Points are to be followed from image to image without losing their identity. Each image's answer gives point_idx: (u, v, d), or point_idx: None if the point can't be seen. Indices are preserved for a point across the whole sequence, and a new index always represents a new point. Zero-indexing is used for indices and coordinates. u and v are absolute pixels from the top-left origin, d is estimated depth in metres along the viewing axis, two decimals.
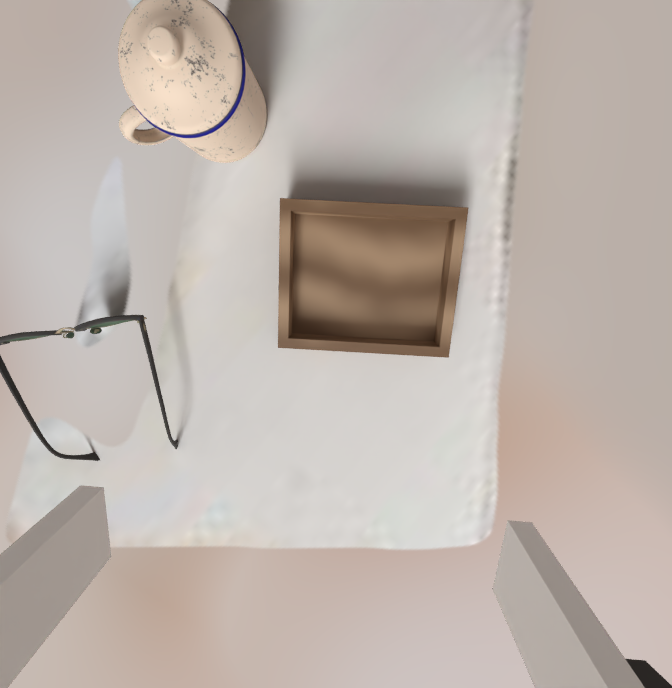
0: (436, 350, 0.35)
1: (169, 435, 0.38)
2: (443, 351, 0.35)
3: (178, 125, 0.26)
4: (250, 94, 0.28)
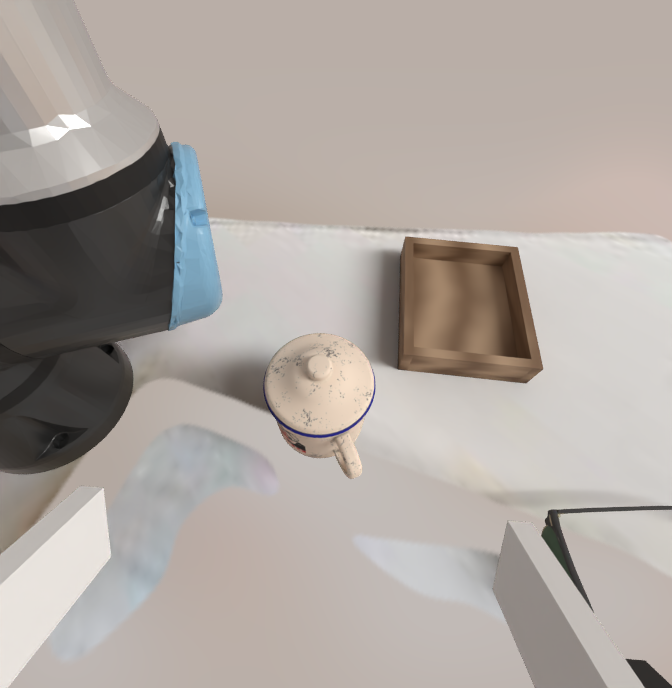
0: (513, 254, 0.43)
1: None
2: (513, 250, 0.44)
3: (369, 385, 0.28)
4: None
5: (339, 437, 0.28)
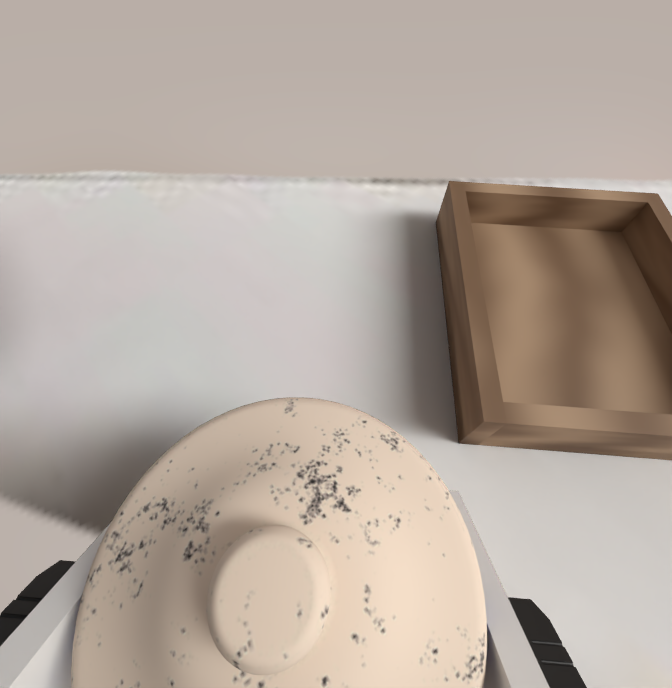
0: (655, 205, 0.23)
1: None
2: (652, 198, 0.23)
3: (473, 615, 0.07)
4: None
5: None
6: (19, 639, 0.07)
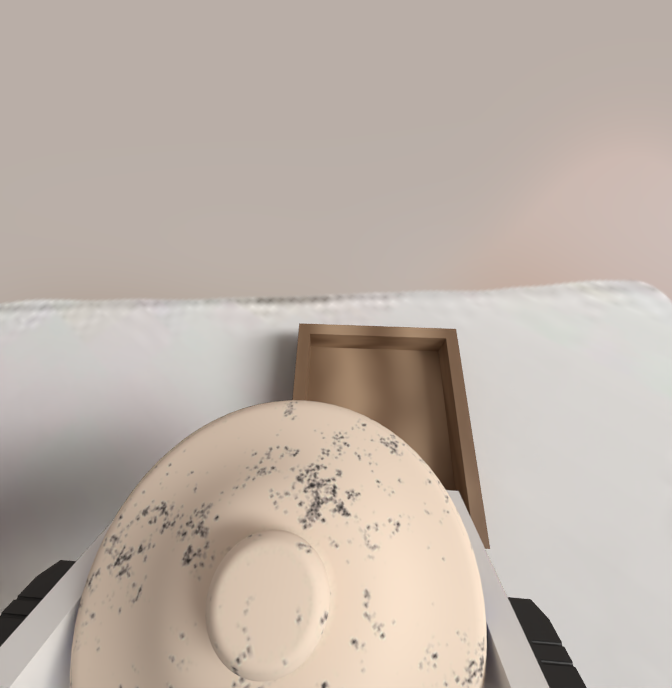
0: (450, 341, 0.31)
1: None
2: (450, 334, 0.31)
3: (472, 619, 0.07)
4: None
5: None
6: (19, 639, 0.07)
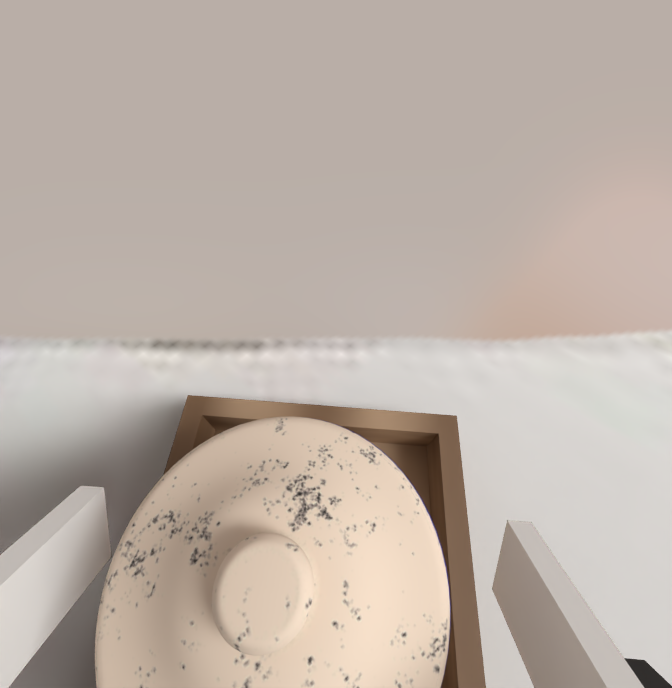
0: (445, 440, 0.17)
1: None
2: (446, 425, 0.18)
3: (437, 604, 0.09)
4: None
5: None
6: None
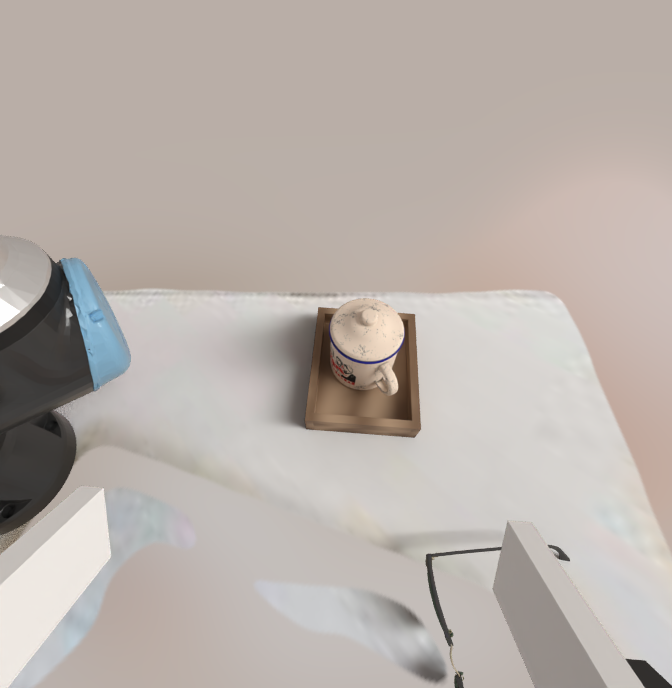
0: (410, 321, 0.50)
1: (550, 545, 0.36)
2: (410, 317, 0.51)
3: (401, 329, 0.41)
4: None
5: (382, 365, 0.41)
6: None
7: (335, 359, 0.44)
